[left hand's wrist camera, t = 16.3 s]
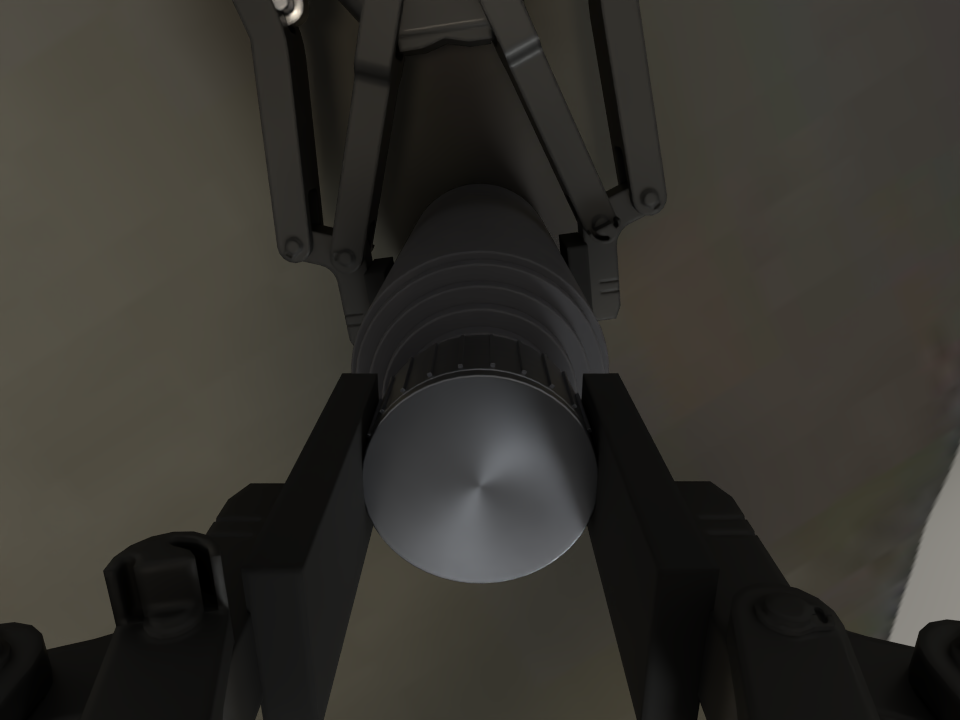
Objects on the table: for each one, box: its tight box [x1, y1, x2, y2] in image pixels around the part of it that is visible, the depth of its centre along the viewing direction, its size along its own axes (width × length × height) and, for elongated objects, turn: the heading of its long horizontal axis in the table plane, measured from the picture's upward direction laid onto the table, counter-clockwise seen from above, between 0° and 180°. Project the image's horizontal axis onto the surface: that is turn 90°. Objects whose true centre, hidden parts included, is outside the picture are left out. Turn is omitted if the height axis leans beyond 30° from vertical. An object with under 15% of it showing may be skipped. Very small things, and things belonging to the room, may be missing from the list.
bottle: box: [351, 184, 609, 399], centre depth 23 cm, size 7×7×21 cm
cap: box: [362, 334, 598, 583], centre depth 14 cm, size 5×5×2 cm
